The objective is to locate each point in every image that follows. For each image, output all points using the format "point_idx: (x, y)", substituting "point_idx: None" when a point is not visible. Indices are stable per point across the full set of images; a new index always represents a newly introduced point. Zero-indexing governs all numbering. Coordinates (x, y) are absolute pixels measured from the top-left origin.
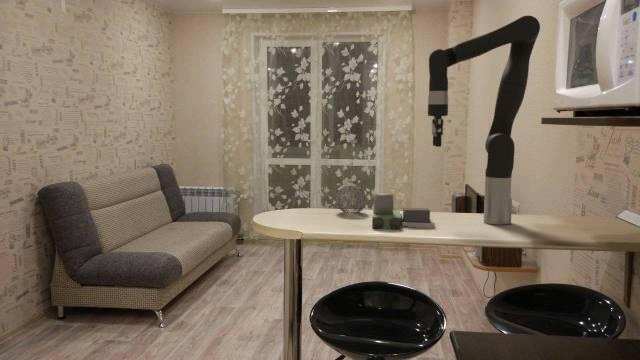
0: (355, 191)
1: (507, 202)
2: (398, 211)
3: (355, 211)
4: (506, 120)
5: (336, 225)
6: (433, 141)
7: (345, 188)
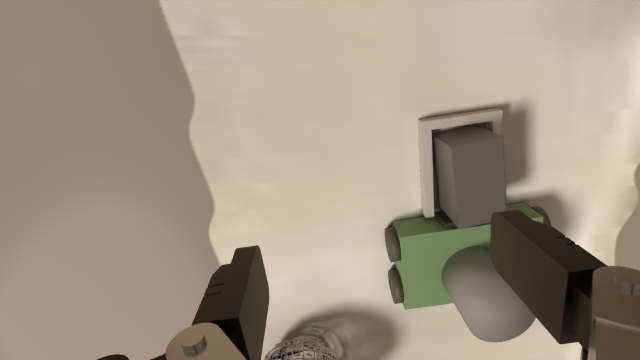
0: None
1: None
2: (429, 236)
3: (284, 350)
4: None
5: (490, 350)
6: (263, 323)
7: None
